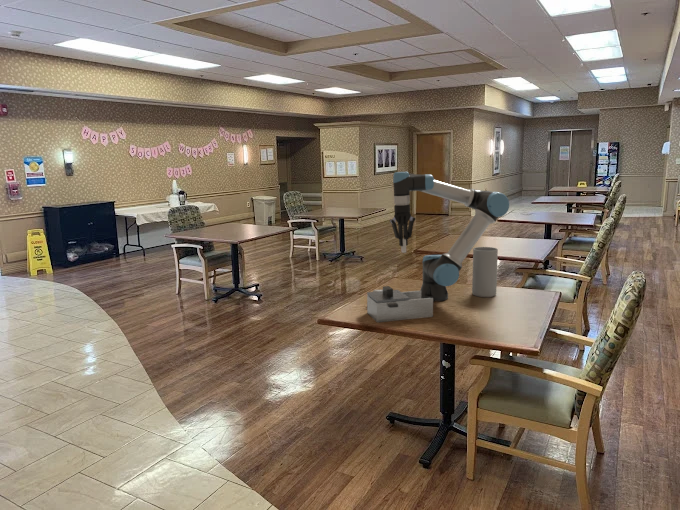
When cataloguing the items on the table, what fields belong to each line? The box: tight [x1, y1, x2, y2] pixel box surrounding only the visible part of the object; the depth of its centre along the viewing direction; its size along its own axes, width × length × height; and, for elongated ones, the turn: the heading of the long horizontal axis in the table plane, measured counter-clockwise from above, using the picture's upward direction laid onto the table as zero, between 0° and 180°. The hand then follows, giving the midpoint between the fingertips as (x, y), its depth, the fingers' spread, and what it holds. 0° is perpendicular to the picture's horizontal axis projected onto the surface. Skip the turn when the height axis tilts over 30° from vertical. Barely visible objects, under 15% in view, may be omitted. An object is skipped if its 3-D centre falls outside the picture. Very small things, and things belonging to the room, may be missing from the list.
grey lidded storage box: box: [366, 289, 434, 323], centre depth 247 cm, size 28×19×9 cm
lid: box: [366, 285, 410, 303], centre depth 244 cm, size 16×16×4 cm
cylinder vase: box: [471, 246, 499, 298], centre depth 277 cm, size 12×12×25 cm
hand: (403, 252), depth 255 cm, fingers closed
